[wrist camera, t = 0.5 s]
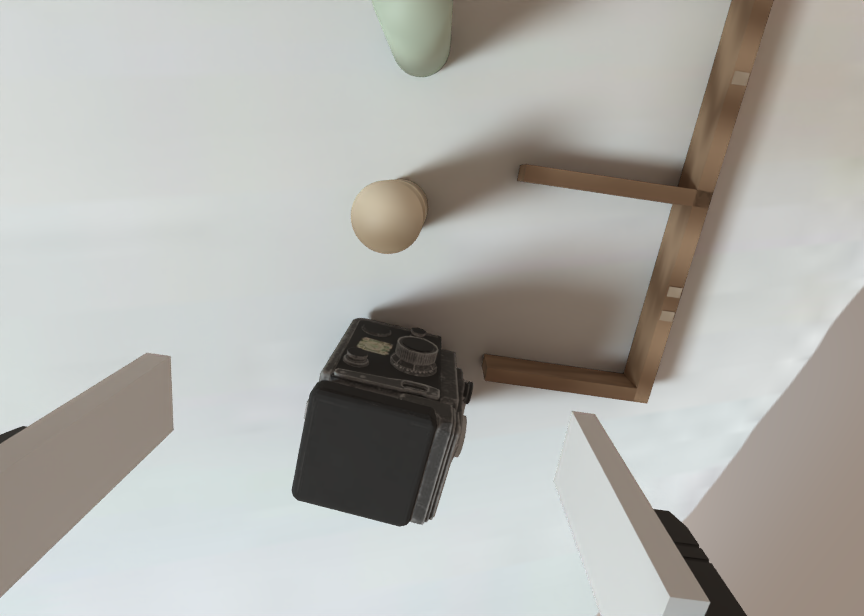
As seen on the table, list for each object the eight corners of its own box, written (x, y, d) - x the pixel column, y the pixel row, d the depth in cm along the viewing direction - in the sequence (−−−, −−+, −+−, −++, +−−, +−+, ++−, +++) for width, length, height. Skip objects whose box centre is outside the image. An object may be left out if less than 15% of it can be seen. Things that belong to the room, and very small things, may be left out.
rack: (566, -81, 31) (579, -108, 28) (763, -49, 31) (797, -73, 28) (481, 366, 41) (484, 381, 38) (632, 387, 41) (647, 404, 38)
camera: (446, 426, 43) (447, 554, 28) (337, 401, 42) (282, 518, 28) (475, 326, 40) (493, 412, 25) (359, 298, 39) (310, 369, 25)
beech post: (377, 175, 36) (354, 175, 27) (431, 183, 36) (427, 186, 27) (372, 229, 37) (347, 248, 28) (424, 237, 38) (417, 258, 28)
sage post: (395, 6, 33) (375, -64, 23) (454, 15, 33) (459, -50, 23) (388, 72, 34) (367, 32, 24) (445, 81, 34) (446, 44, 25)
